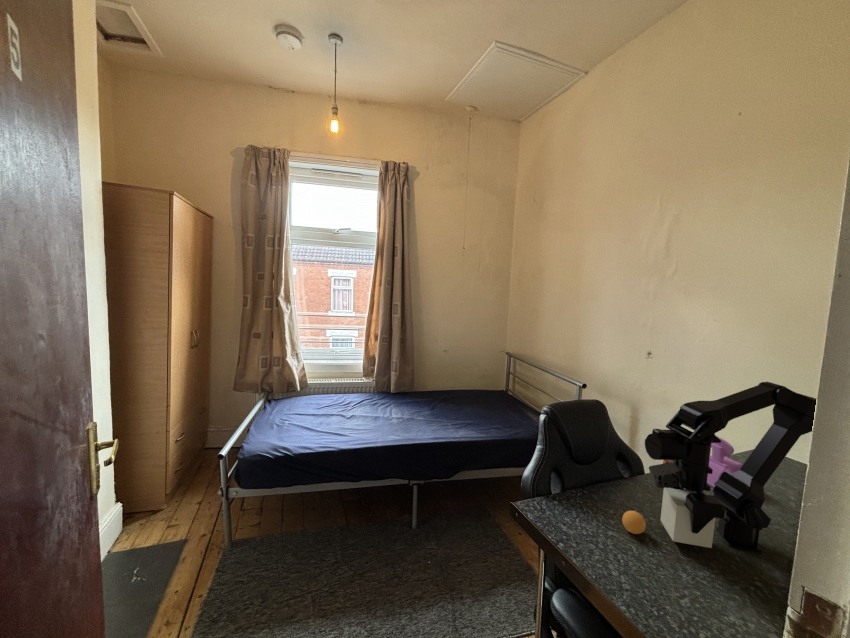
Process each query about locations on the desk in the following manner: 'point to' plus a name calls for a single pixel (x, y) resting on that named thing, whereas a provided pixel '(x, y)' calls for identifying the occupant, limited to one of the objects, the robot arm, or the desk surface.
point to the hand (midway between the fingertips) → (686, 521)
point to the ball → (633, 522)
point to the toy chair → (721, 461)
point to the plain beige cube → (683, 520)
